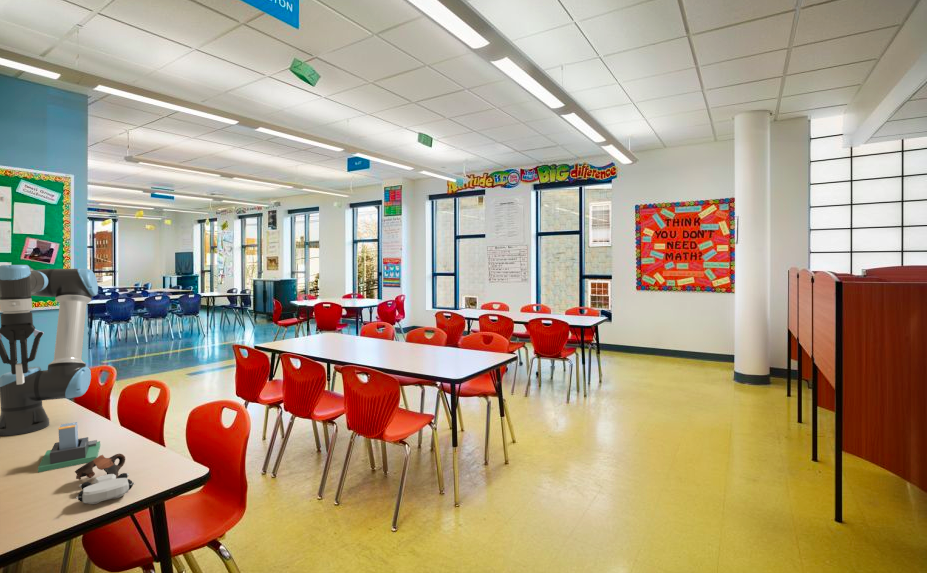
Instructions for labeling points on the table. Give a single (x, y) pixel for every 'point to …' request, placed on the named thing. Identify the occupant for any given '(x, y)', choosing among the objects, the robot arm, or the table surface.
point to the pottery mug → (101, 466)
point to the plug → (68, 436)
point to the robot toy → (104, 488)
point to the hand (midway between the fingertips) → (20, 383)
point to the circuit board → (70, 455)
